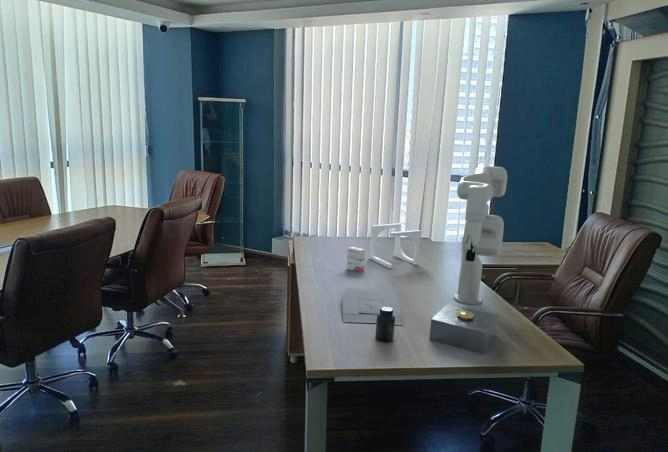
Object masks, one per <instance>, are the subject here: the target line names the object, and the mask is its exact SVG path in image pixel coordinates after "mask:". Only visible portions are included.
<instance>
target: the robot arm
mask: <svg viewBox="0 0 668 452" xmlns="http://www.w3.org/2000/svg"><path fill="white" fill-rule="evenodd" d="M507 183H508V171H507V170H506V169H505V168H504V167H503V166H495V165H493V166H491V165H479V166H477V167H476V168H474V171H473V173H471V174H469V175H464V176H463V177H462V178H461V179H460V180H459V182H458V185H457V188H456V189H457V190H456V193H457V195H456V196H457V197H458V199H461V200H465V201H466V206H465V207H466V208H465V209H466V210H465V218H464V220H465V226H464V232H463V236H462V238H461V259H460V267H459V269H460V271H459V277H458V289H457V293H454V294H453V299H454V300H455V301H457V302H458V303H461V304H466V305H478V304H481V303H482V302H483V301H482V298H481V296H480V289H481V280H482V273H483V263H482V260H481V258H480V257H479V256H481V257H482V256H483V257H489V258H497V257H500V255H501V253H502V248H503V247H502V246H503V237H504V227H505V225H504V220H503V218H502V217H501V216H499V215H495V214H489V210H490V206H489V205H488V202H489V201H491V200H492V198H494V197H496V198H500V197H503V196H505V194H506V190H507Z"/></svg>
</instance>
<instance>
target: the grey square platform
mask: <svg viewBox="0 0 668 452" xmlns="http://www.w3.org/2000/svg"><path fill="white" fill-rule="evenodd" d="M461 310H464V311H469V312H472V313H473V314H474V317H473V320H470V321H468V320H462V319H460V318H458V317H457V313H458V311H461ZM498 318H499V315H498V314H494V313H490V312H486V311H482V310H478V309H474V308H468V307H465V306H461V305H456V304H452V303H450V302H448V303H447V304H445V305H444V307H442V309H440V310H439V311H438V312H437V313H436V314H434V316H433V317H432V318H431V320H430V328H429V336H428V337H429V340H431V341H433V342H438V343H441V344H445V345H449V346H452V347H455V346H456V348H459V347H460V349H462V348H464V350H466V349H468V350H467V351H469V350H471V351H470V352H473V351H475V352H474V353H476V352H479V353H478V354H480V353H482V354H481V355H484V353H485V352H484V351H487V349H488V347H489V346H488V345H490V344H491V342H492V341H493V339H494V338H495V336H496V335H497V329H498V328H497V326H498V320H499V319H498ZM495 334H496V335H495ZM493 337H494V338H493ZM491 340H492V341H491ZM489 343H490V344H489ZM486 348H487V349H486Z"/></svg>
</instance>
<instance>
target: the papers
mask: <svg viewBox="0 0 668 452" xmlns="http://www.w3.org/2000/svg"><path fill="white" fill-rule="evenodd" d="M384 306H387V307H391V308H393V316H394V317H395V325H396V326H403V325H404V324H403V317H402V316H403V315H402V312H401V308H400V304H399V300H398V298H397V296H396V294H395V293H393V290H385V289H384V290H383V289H382V290H381V289H361V288H348V287H347V288H346V291H343V294H342V320H343V323H358V324H359V323H363V324H364V323H365V324H376V320H377V316H378V315H379V314H380V308H381V307H384Z"/></svg>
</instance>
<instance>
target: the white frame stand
mask: <svg viewBox="0 0 668 452" xmlns="http://www.w3.org/2000/svg"><path fill="white" fill-rule="evenodd" d="M388 229H395V231H391V232H389V237H391V238H393V237H395V239H394V248H393V249H394V250H393V256H394V257H396V258H398V259H401V260H403V261H405V262H407V263H409V264H411V263H412V264H411V265H413V266H418V265H419V255H420V246H421V236H422V231H421V230H420V229H413V230H405V231H404V230H402V223H399V222H398V223H397V222H396V223H387V224H373V225H371V228H370V243H369V244H370V245H369V256H368V259H370V260H371V261H374V262H375V263H376V264H380V265H382V266H383V267H386V268H388V269H393V267H394V265H393V264H392V263H391V262H388V261H386V260H384V259H381V258H380V257H377V256H376V255H375V252H376V251H375V248H376V242H377V239H378V238H379V236H380V234H381V233H382V232H384V231H385V230H388ZM404 236H406V237H408V238H410V240H411V241H412V243H413V256H412V257H413V258H411V257H409V256H407V255H406V254H405V252H404V250H403V248H402V245H401V237H404Z"/></svg>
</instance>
